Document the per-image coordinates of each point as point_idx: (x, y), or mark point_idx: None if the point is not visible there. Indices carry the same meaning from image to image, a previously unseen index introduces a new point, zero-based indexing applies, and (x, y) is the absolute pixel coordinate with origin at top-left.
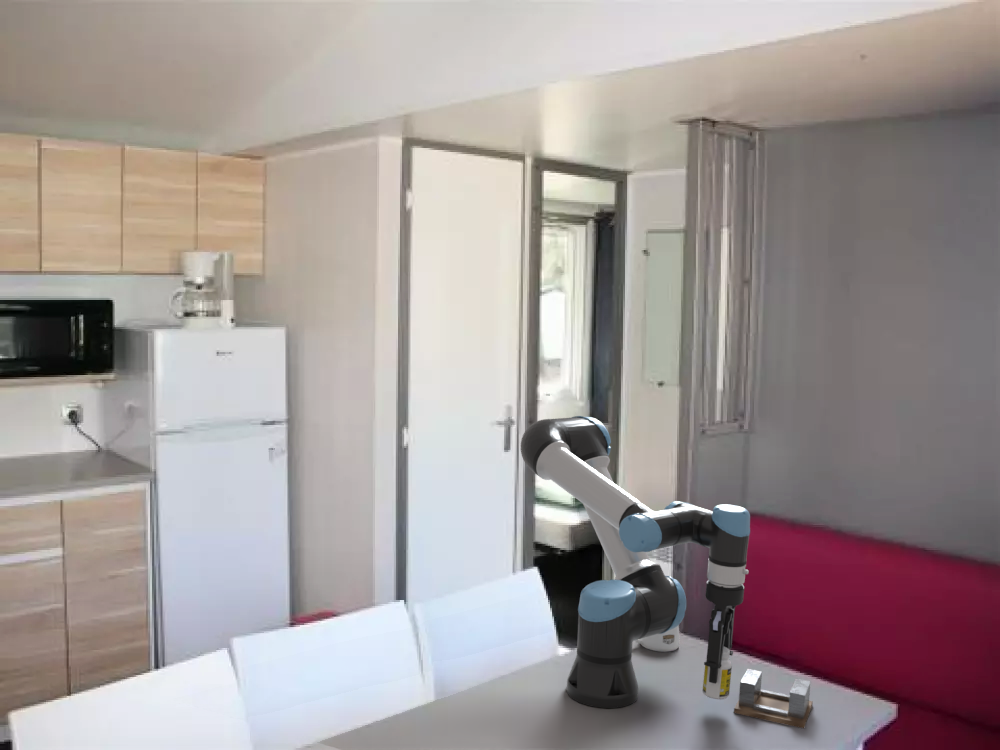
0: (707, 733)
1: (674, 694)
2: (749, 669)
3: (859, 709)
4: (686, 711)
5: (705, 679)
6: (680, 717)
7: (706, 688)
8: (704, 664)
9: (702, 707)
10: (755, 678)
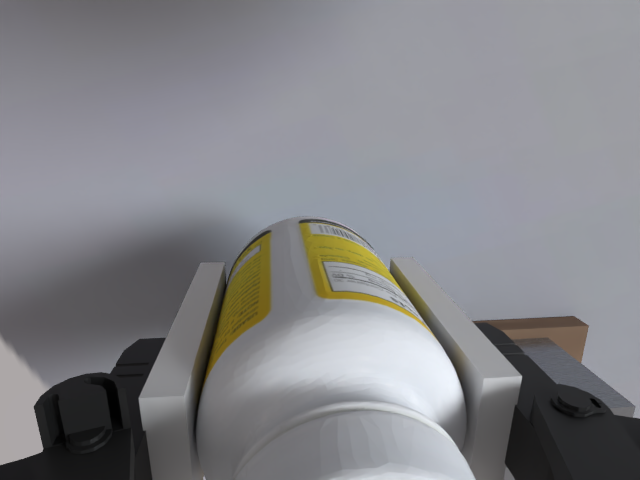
0: (52, 284)
1: (407, 15)
2: (626, 415)
3: None
4: (231, 131)
5: (246, 275)
6: (141, 121)
7: (191, 284)
8: (59, 387)
9: (321, 192)
10: (508, 472)
